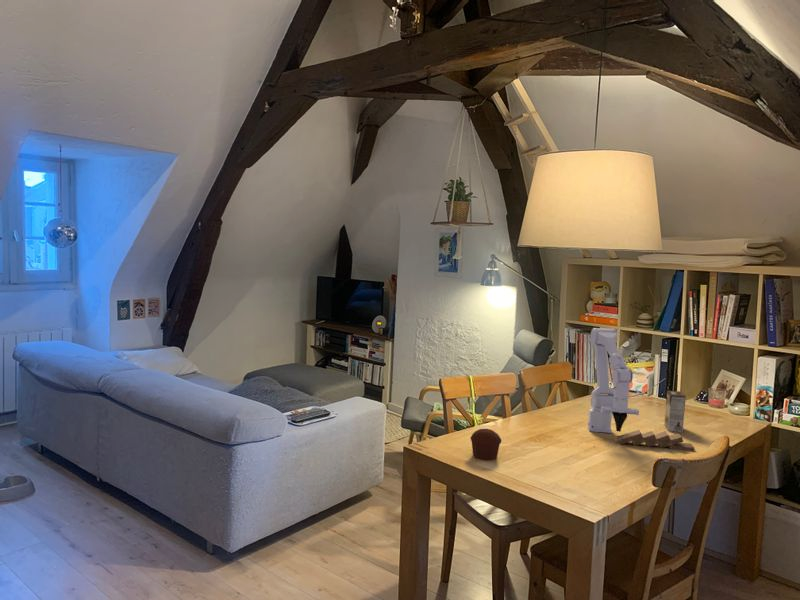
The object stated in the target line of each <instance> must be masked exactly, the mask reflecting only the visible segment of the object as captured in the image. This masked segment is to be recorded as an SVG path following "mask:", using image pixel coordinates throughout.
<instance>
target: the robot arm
mask: <svg viewBox="0 0 800 600" xmlns="http://www.w3.org/2000/svg"><path fill="white" fill-rule="evenodd" d="M589 335H590V347H591V349H593V350H594V358H595V373H596V388H595V389H593V390H592V391H591V393H590V395H591V396H590V405H591V408H590V409H589V411H588V418H587V419H588V420H587V428H588V430H589V432H596V433H604V434H605V433H607V434H608V433H609V434H613V433H614V432H613V430H612V418H613V419H614V423H615V424H614V425H615V428H616V429H615V431H616V432H622V427H623V425H624V422H625V421H626V420H627V417H628V415H636V416H639V415H640V410H639V409H636V408H630V407H629V406H628V404H629V397H630V396H629V393H630V383H632V382H633V377H634V375H633V371H632V368H629V366H627V364H626V361H625V359H624V357H623V355H622V354H620V353H619V350H618V345H617V339H618V332H617V329H615V328H604V327H603V328H599V327H597V328H596V327H593V328H592V329H591V331H590V334H589ZM608 355H609V357H608ZM608 362H609V363H608ZM608 365H610V368H611V370H612V375H611V376H612V386H613V388H611V387H610V382H609V381H610V378H609V368H608Z"/></svg>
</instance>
